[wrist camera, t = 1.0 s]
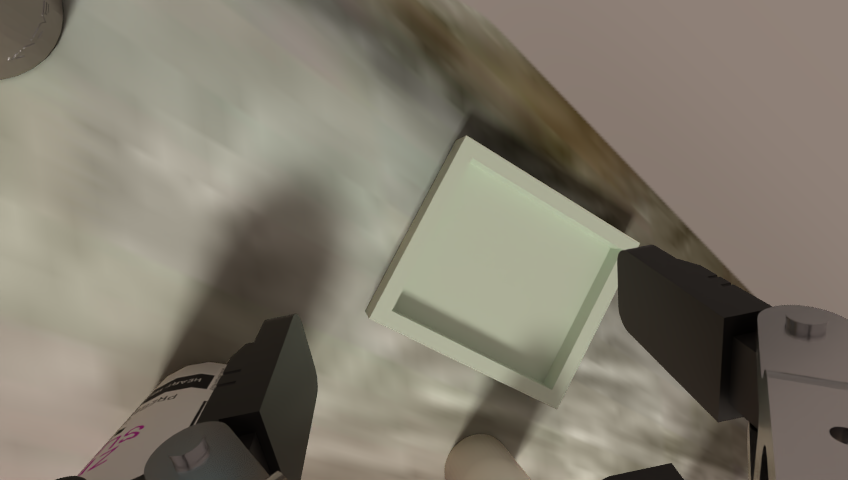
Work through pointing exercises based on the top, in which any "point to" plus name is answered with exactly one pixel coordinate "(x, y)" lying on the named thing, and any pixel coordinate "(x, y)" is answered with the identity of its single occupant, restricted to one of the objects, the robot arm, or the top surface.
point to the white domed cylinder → (482, 461)
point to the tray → (502, 274)
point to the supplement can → (155, 422)
